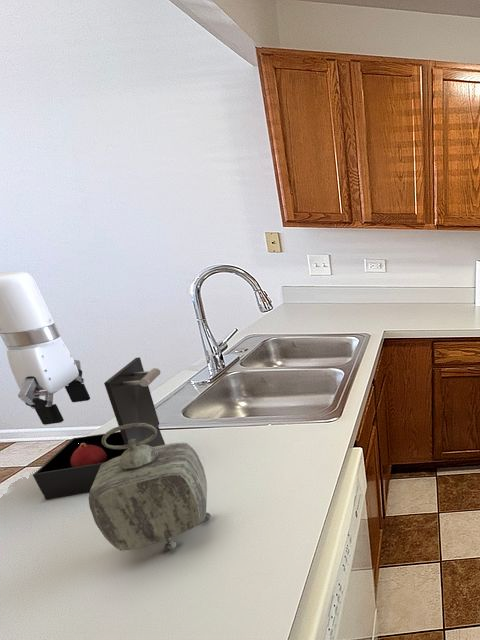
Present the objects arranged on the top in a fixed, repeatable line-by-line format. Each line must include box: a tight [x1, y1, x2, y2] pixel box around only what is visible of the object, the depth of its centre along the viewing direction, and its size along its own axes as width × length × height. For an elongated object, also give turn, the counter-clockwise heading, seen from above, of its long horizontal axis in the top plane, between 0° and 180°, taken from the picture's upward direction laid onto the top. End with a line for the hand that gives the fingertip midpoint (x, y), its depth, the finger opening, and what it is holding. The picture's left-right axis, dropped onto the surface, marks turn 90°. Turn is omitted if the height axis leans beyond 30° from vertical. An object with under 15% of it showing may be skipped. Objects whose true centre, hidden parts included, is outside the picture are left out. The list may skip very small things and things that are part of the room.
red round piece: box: [70, 443, 107, 467], centre depth 89 cm, size 6×6×8 cm
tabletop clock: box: [88, 423, 211, 552], centre depth 68 cm, size 14×9×25 cm, turn 122°
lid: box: [103, 356, 161, 449], centre depth 89 cm, size 18×14×6 cm
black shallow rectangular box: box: [32, 425, 166, 501], centre depth 90 cm, size 17×14×6 cm
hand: (68, 411), depth 85 cm, fingers open, 9 cm apart
